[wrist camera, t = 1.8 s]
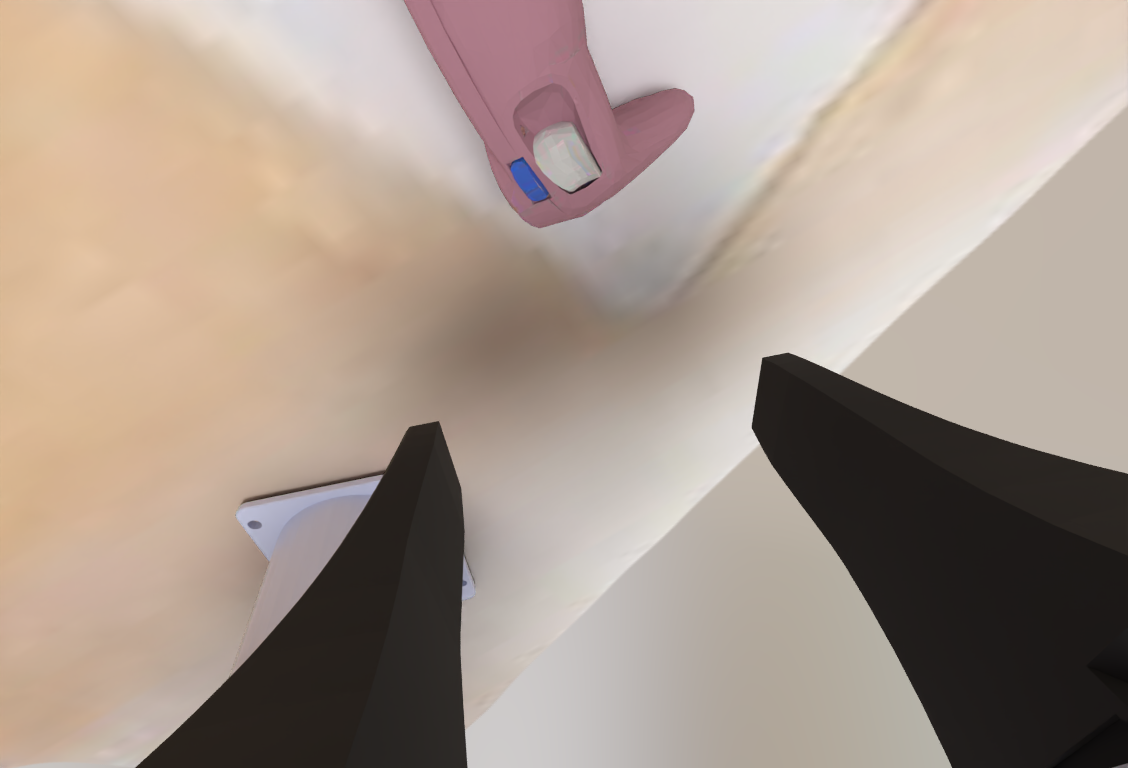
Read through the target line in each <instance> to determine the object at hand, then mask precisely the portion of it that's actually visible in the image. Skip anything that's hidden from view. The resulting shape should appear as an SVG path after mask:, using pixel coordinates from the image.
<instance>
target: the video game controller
mask: <svg viewBox="0 0 1128 768" xmlns="http://www.w3.org/2000/svg"><path fill="white" fill-rule="evenodd" d="M404 2H405V4H406V6H407V8H408V10H409V12H410V13H411V15H412V17H413V19H414V21H415V23H416V25H417V27H418V29H419V31H420V33H421V35H422V37H423V39H424V41H425V43H426V45H427V47H428V49H429V50H430V52H431V54H432V56H433V57H434V59H435V61H436V63H437V65H438V66H439V68H440V70H441V72H442V73H443V75H444V77H445V79H446V80H447V82H448V84H449V86H450V88H451V89H452V91H453V93H454V95H455V96H456V98H457V100H458V102H459V103H460V105H461V107H462V108H463V110H464V111H465V113H466V115H467V116H468V118H469V119H470V121H471V122H472V124H473V126H474V127H475V129H476V130H477V132H478V134H479V135H480V137H481V138H482V139H483V141H484V144H485V148H486V152H487V155H488V159H489V162H490V165H491V169H492V171H493V174H494V176H495V178H496V181H497V183H498V185H499V188H500V189H501V191H502V193H503V194H504V196H505V197H506V199H507V201H508V202H509V204H510V205H511V207H512V208H513V209H514V210H515V211H516V212H517V213H518V215H519V216H520V217H521V218H522V219H523V220H524V221H526V222H527V223H529V224H530V225H532V226H534V227H537V228H542V227H546V226H549V225H553V224H556V223H560V222H563V221H567V220H571V219H574V218H578V217H582V216H584V215H585V214H587V213H588V212H590V211H591V210H593V209H594V208H596V207H598V206H599V205H600V204H602V203H603V202H604V201H606V200H608V199H609V198H611V197H613V196H614V195H615V194H616V193H618V192H619V191H620V190H621V189H623V188H624V187H625V186H626V185H627V184H629V183H630V182H631V181H632V180H633V179H635V178H636V177H637V176H638V175H639V174H640V173H642V172H643V171H644V170H645V169H646V168H647V167H648V166H649V165H650V164H652V163H653V162H654V161H655V160H656V159H657V158H658V157H659V156H660V155H661V154H662V153H663V152H664V151H665V150H666V149H667V148H669V147H670V146H671V145H672V144H673V143H674V142H675V141H676V140H677V139H678V137H679V136H680V135H681V134H682V133H683V132H684V131H685V130H686V129H687V126H688V124H689V122H690V120H691V117H692V115H693V113H694V100H693V97H692V96H691V95H689V94H688V93H687V92H686V91H685V90H680V89H676V88H674V89H669V90H665V91H660V92H658V93H655V94H653V95H650V96H645V97H642V98H638V99H635V100H632V101H630V102H628V103H626V104H623V105H621V106H619V107H617V108H615V109H611V106H610V103H609V101H608V98H607V95H606V92H605V90H604V87H603V85H602V82H601V80H600V77H599V75H598V72H597V70H596V67H595V65H594V62H593V60H592V57H591V55H590V52H589V50H588V47H587V39H586V29H585V19H584V9H583V4H582V0H404Z"/></svg>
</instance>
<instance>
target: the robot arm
mask: <svg viewBox="0 0 1128 768" xmlns="http://www.w3.org/2000/svg"><path fill="white" fill-rule="evenodd" d="M752 429H753V431H754V433H755V435H756V437H757V439H758V441H759V443H760V445H761V447H762V448H763V450H764V452H765V454H766V455H767V457H768V459H769V461H770V462H771V464H772V465H773V467H774V468H775V470H776V471H777V473H778V474H779V476H780V477H781V478H782V479H783V481H784V482H785V484H786V485H787V486H788V488H789V489H790V490H791V492H792V493H793V495H794V496H795V497H796V499H797V500H798V501H799V503H800V504H801V505H802V507H803V508H804V509H805V511H806V512H807V513H808V514H809V516H810V517H811V518H812V520H813V521H814V523H815V524H816V525H817V527H818V528H819V529H820V531H821V532H822V533H823V535H824V536H825V537H826V539H827V540H828V541H829V543H830V544H831V545H832V547H833V548H834V550H835V551H836V553H837V554H838V556H839V557H840V559H841V560H842V562H843V563H844V565H845V566H846V568H847V569H848V571H849V573H850V575H851V576H852V578H853V580H854V581H855V583H856V585H857V586H858V588H859V590H860V591H861V593H862V595H863V596H864V598H865V600H866V601H867V603H868V605H869V606H870V608H871V610H872V612H873V614H874V615H875V617H876V619H877V620H878V623H879V624H880V626H881V628H882V629H883V631H884V633H885V635H886V637H887V639H888V640H889V642H890V644H891V646H892V647H893V649H894V651H895V653H896V655H897V657H898V659H899V661H900V663H901V664H902V667H903V668H904V670H905V672H906V674H907V676H908V678H909V680H910V682H911V684H912V686H913V688H914V690H915V692H916V693H917V695H918V697H919V699H920V701H921V703H922V705H923V707H924V709H925V711H926V713H927V716H928V718H929V720H930V722H931V724H932V726H933V728H934V730H935V732H936V734H937V736H938V739H939V740H940V743H941V745H942V747H943V749H944V751H945V753H946V755H947V757H948V759H949V762H950V764H951V766H952V768H1128V474H1126V473H1122V472H1118V471H1113V470H1110V469H1106V468H1102V467H1097V466H1093V465H1089V464H1086V463H1082V462H1078V461H1075V460H1071V459H1067V458H1063V457H1060V456H1056V455H1052V454H1049V453H1045V452H1041V451H1038V450H1034V449H1031V448H1028V447H1024V446H1021V445H1018V444H1014V443H1011V442H1008V441H1005V440H1002V439H999V438H996V437H993V436H990V435H987V434H984V433H981V432H978V431H975V430H972V429H969V428H966V427H963V426H960V425H958V424H955V423H952V422H949V421H947V420H944V419H942V418H939V417H937V416H934V415H932V414H929V413H927V412H924V411H921V410H919V409H917V408H914V407H912V406H909V405H907V404H904V403H902V402H900V401H897V400H895V399H893V398H890V397H888V396H886V395H883V394H881V393H879V392H877V391H874V390H872V389H870V388H868V387H865V386H863V385H861V384H859V383H857V382H854V381H852V380H850V379H848V378H846V377H843V376H841V375H839V374H837V373H835V372H833V371H830V370H828V369H826V368H824V367H822V366H819V365H817V364H815V363H813V362H810V361H808V360H806V359H803V358H801V357H798V356H796V355H793V354H790V353H784V354H779V355H774V356H769V357H764V358H762V364H761V370H760V376H759V383H758V389H757V396H756V402H755V409H754V415H753V422H752ZM235 516H236V518H237V520H238V521H239V522H240V524H241V525H242V526H243V528H244V529H245V530H246V532H247V533H248V534H249V536H250V537H251V538H252V540H253V541H254V542H255V544H256V545H257V546H258V548H259V549H260V550H261V552H262V553H263V554H264V556H265V557H266V558H267V560H268V561H269V565H268V568H267V570H266V573H265V576H264V579H263V582H262V585H261V588H260V590H259V593H258V596H257V599H256V602H255V605H254V608H253V610H252V613H251V616H250V619H249V622H248V625H247V628H246V630H245V633H244V636H243V639H242V642H241V645H240V648H239V651H238V653H237V656H236V659H235V662H234V665H233V668H232V671H231V673H230V676H229V679H228V680H227V681H226V682H225V683H224V684H223V685H222V686H221V687H220V688H219V689H218V690H217V691H216V692H215V693H214V694H213V695H212V696H211V697H210V698H209V699H208V700H207V701H206V702H205V703H204V704H203V705H202V706H201V707H200V708H199V709H198V710H197V711H196V712H195V713H194V714H193V715H192V716H191V717H190V718H188V719H187V720H186V721H185V722H184V723H183V724H182V725H181V726H180V727H179V728H178V729H177V730H176V731H175V732H174V733H173V734H172V735H171V736H170V737H168V738H167V739H166V740H165V741H164V742H163V743H162V744H161V745H160V746H159V747H158V748H156V749H155V750H154V751H153V752H152V753H151V754H150V755H149V756H148V757H147V758H145V759H144V760H143V761H142V762H141V763H140V764H139V765H138V766H137V767H136V768H467V757H466V741H465V725H464V710H463V693H462V674H461V655H460V631H461V607H462V601H463V600H467V599H470V598H472V597H473V596H474V595H475V594H476V589H475V584H474V581H473V578H472V576H471V573H470V570H469V568H468V565H467V562H466V559H465V557H464V518H463V505H462V493H461V486H460V483H459V480H458V477H457V474H456V471H455V468H454V465H453V462H452V459H451V456H450V453H449V450H448V447H447V444H446V441H445V438H444V435H443V432H442V429H441V426H440V423H439V421H437V422H432V423H427V424H422V425H417V426H412V427H409V429H408V430H407V431H406V433H405V435H404V437H403V439H402V441H401V443H400V445H399V447H398V449H397V451H396V452H395V454H394V456H393V458H392V460H391V462H390V464H389V466H388V467H387V469H386V471H385V473H384V474H382V475H378V476H373V477H368V478H363V479H358V480H353V481H348V482H343V483H338V484H334V485H329V486H324V487H319V488H314V489H309V490H304V491H299V492H294V493H290V494H285V495H280V496H275V497H270V498H265V499H260V500H255V501H251V502H246V503H243V504H241V505H240V506H239V507H238V509H237V512H236V515H235ZM256 521H259V522H256Z"/></svg>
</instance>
